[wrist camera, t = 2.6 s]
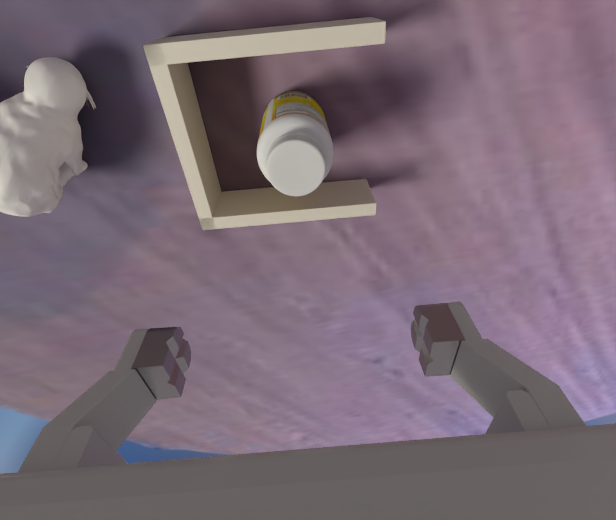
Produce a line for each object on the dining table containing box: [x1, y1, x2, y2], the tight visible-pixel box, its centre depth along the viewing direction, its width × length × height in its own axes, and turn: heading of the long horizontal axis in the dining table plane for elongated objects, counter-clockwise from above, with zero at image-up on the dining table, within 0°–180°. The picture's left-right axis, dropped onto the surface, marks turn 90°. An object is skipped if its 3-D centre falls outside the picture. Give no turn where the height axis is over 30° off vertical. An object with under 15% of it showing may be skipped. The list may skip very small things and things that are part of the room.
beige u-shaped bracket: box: [143, 17, 386, 230], centre depth 28 cm, size 16×14×5 cm
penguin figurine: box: [0, 57, 96, 217], centre depth 26 cm, size 6×8×12 cm
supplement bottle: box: [257, 91, 334, 196], centre depth 26 cm, size 6×6×10 cm
